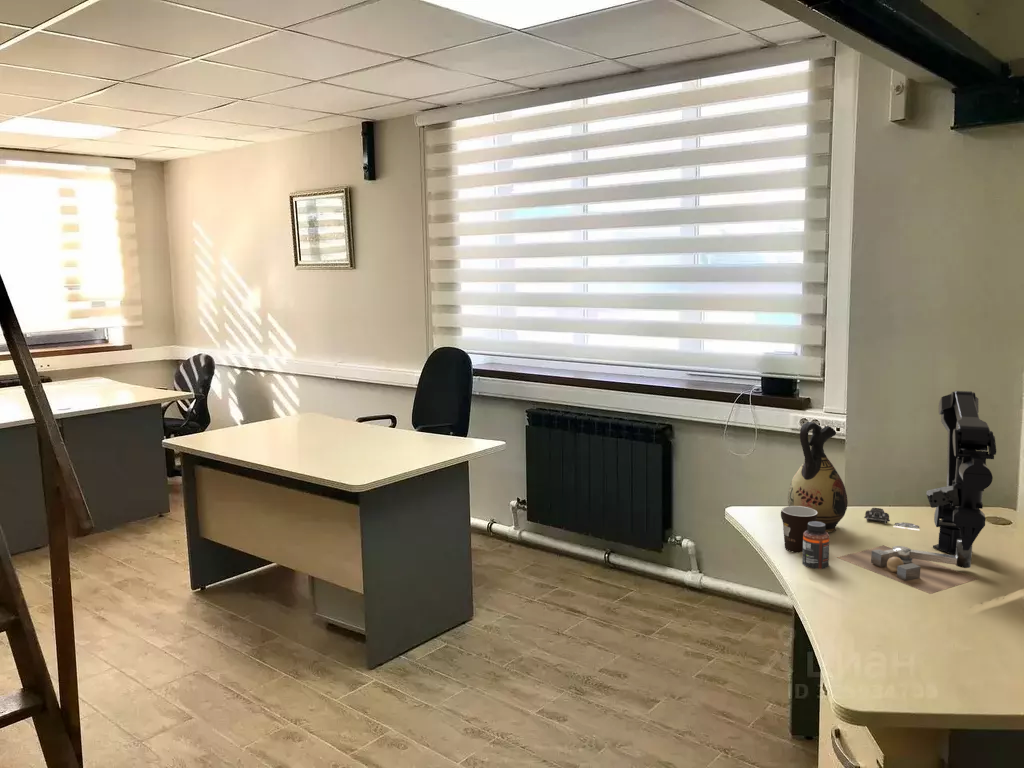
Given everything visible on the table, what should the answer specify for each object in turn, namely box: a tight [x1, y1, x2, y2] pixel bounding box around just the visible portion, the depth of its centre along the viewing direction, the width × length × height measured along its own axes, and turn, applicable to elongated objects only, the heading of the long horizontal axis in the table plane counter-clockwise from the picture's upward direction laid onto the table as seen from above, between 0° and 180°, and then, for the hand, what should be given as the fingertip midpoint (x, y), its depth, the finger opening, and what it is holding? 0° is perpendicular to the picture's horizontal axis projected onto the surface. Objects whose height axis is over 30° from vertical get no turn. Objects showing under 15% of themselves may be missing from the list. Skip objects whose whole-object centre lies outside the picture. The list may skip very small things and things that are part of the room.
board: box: [836, 545, 979, 595], centre depth 191 cm, size 17×25×1 cm
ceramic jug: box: [787, 421, 848, 534], centre depth 221 cm, size 17×15×30 cm
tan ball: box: [887, 557, 904, 573], centre depth 188 cm, size 4×4×4 cm
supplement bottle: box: [801, 521, 830, 570], centre depth 193 cm, size 6×6×11 cm
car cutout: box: [863, 507, 921, 531], centre depth 226 cm, size 15×7×4 cm, turn 60°
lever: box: [871, 538, 973, 569], centre depth 190 cm, size 21×9×7 cm, turn 62°
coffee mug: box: [780, 505, 818, 553], centre depth 208 cm, size 12×9×10 cm
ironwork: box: [897, 558, 921, 581], centre depth 190 cm, size 15×5×3 cm, turn 163°
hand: (964, 543), depth 188 cm, fingers open, 9 cm apart
